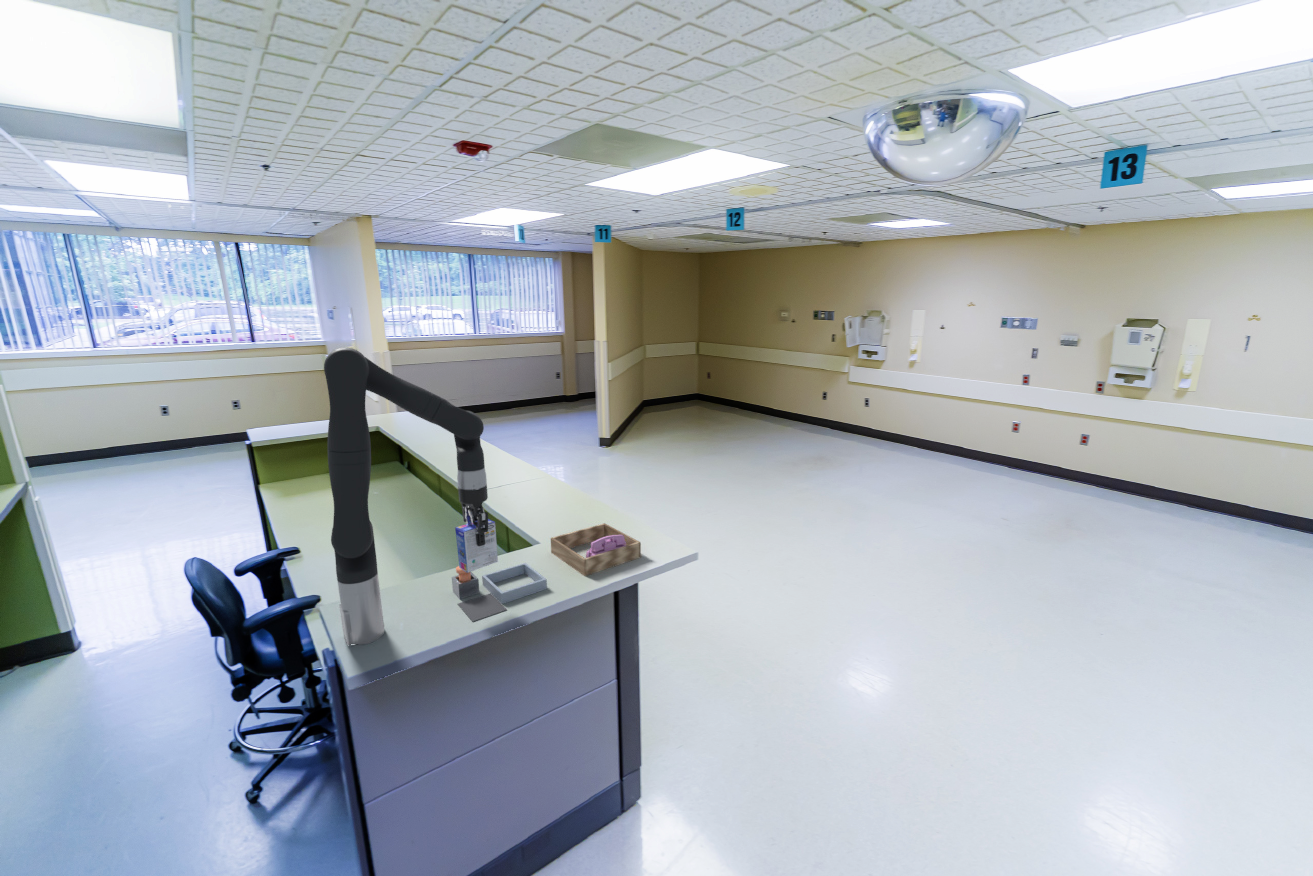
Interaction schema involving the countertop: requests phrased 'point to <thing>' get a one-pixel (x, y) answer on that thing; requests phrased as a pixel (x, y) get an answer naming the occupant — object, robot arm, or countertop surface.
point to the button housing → (465, 586)
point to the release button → (463, 575)
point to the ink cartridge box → (475, 547)
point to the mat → (482, 607)
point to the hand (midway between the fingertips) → (476, 541)
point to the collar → (518, 591)
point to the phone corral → (596, 562)
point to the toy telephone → (606, 545)
